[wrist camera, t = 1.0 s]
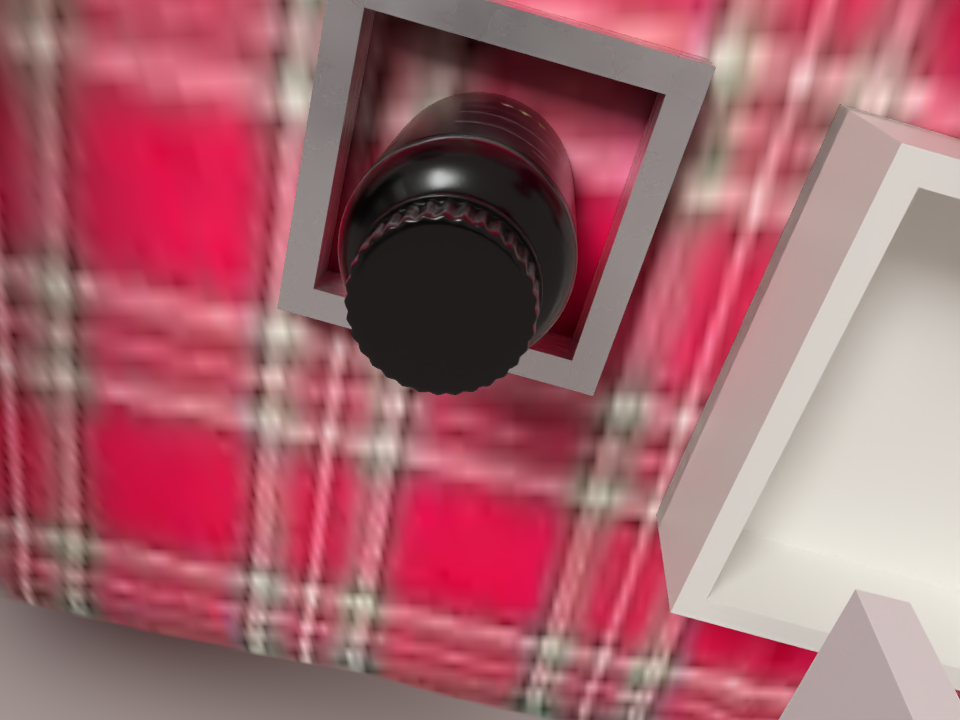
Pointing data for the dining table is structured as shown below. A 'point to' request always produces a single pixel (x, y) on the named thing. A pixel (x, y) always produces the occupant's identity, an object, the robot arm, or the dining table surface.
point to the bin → (836, 408)
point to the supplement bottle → (460, 244)
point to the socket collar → (490, 18)
